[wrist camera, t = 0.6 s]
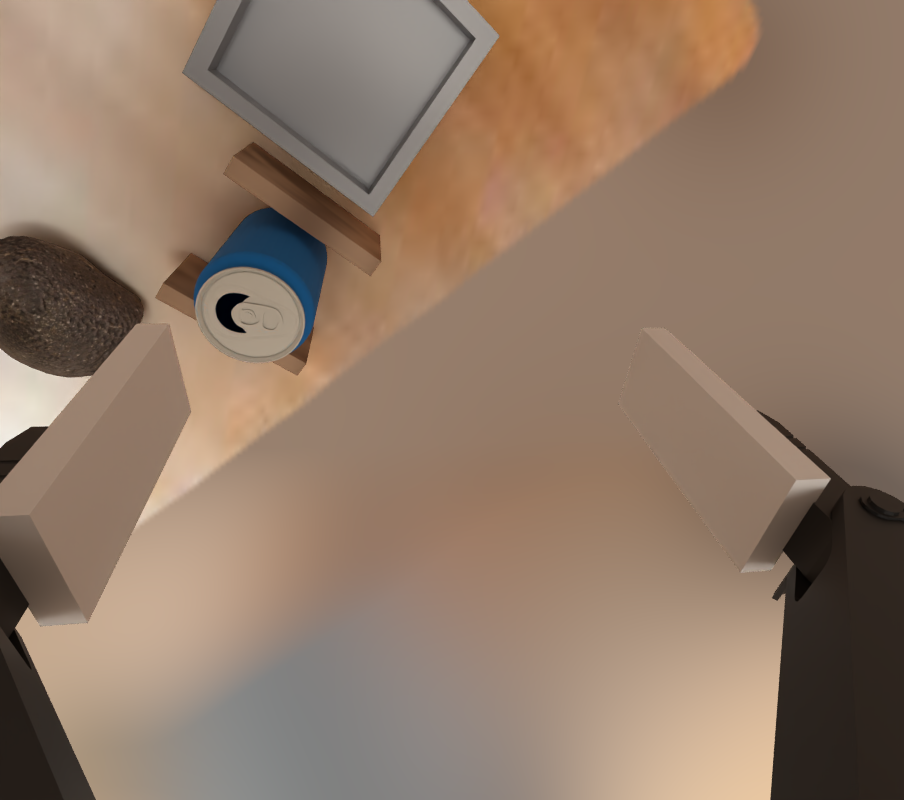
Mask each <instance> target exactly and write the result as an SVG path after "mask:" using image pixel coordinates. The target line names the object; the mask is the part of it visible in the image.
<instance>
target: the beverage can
mask: <svg viewBox="0 0 904 800" xmlns="http://www.w3.org/2000/svg"><path fill="white" fill-rule="evenodd" d="M326 265H327V252H326V247H325V244H323V243H322V242H321V241H319V240H318V239H316V238H315V237H313V236H312V235H310V234H309V233H307V232H306V231H305V230H303V229H302V228H300V227H299V226H297V225H296V224H294V223H293V222H292V221H290V220H289V219H287V218H286V217H284V216H283V215H281V214H280V213H279V212H277V211H276V210H274V209H273V208H265V209H260V210H258V211H255V212H253V213H252V214H250V215H249V216H247V217H246V218H245V219H244V220H243V221H242V222H241V223H240V225H239V226H238V227H237V228H236V230H235V231H234V232H233V233H232V235H231V236H230V237H229V238H228V240H227V241H226V242H225V243H224V245H223V246H222V247H221V248H220V249H219V251H218V252H217V253H216V254H215V256H214V257H213V258H212V259H211V261H210V262H209V263H208V264H207V266H206V267H205V268H204V269H203V271H202V272H201V274H200V275H199V277H198V279H197V281H196V284H195V288H194V297H193V298H194V307H195V314H196V319H197V322H198V325H199V327H200V329H201V331H202V333H203V334H204V336H205V337H206V339H207V340H208V341H209V342H210V343H211V344H212V345H213V346H214V347H215V348H217V349H218V350H219V351H221V352H222V353H224V354H226V355H227V356H229V357H232V358H234V359H237V360H240V361H244V362H249V363H268V362H272V361H276V360H279V359H281V358H283V357H285V356H286V355H288V354H289V353H291V352H293V351H294V350H296V349H297V348H298V347H300V346H301V345H302V344H303V343H304V341H305V340H306V339H307V338H308V336H309V334H310V333H311V330H312V328H313V324H314V320H315V315H316V311H317V306H318V302H319V297H320V292H321V288H322V283H323V278H324V274H325V269H326Z"/></svg>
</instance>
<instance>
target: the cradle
mask: <svg viewBox="0 0 904 800" xmlns="http://www.w3.org/2000/svg"><path fill="white" fill-rule="evenodd" d="M224 175H225V176H227V177H228V178H229V179H231V180H232V181H234V182H235V183H237V184H238V185H240V186H241V187H242V188H244V189H245V190H247V191H248V192H250V193H251V194H253V195H254V196H255V197H257V198H258V199H260V200H261V201H263V202H264V203H266V204H267V205H268V206H270V207H271V208H273V209H274V210H276V211H277V212H279V213H280V214H281V215H283V216H284V217H286V218H287V219H289V220H290V221H292V222H293V223H294V224H296V225H297V226H299V227H300V228H302V229H303V230H305V231H306V232H307V233H309V234H310V235H312V236H313V237H315V238H316V239H318V240H319V241H321V242H322V243H323V244H325V245H326V246H328V247H329V248H331V249H332V250H334V251H335V252H336V253H338V254H339V255H341V256H342V257H344V258H345V259H347V260H348V261H349V262H351V263H352V264H354V265H355V266H357V267H358V268H360V269H361V270H362V271H364V272H365V273H367V274H368V275H370V276H371V275H372V273H373V272H374V271H375V269H376V268H377V267H378V265H379V264H380V263H381V250H380V235H378V234H377V233H376V232H374V231H373V230H372V229H370V228H369V227H368V226H366V225H365V224H364V223H362V222H361V221H360V220H358V219H357V218H355V217H354V216H353V215H351V214H350V213H349V212H347V211H346V210H345V209H343V208H342V207H341V206H339V205H338V204H337V203H335V202H334V201H332V200H331V199H330V198H328V197H327V196H326V195H324V194H323V193H322V192H320V191H319V190H318V189H316V188H315V187H314V186H312V185H311V184H310V183H308V182H307V181H305V180H304V179H303V178H301V177H300V176H299V175H297V174H296V173H295V172H293V171H292V170H291V169H289V168H288V167H287V166H285V165H284V164H283V163H281V162H280V161H278V160H277V159H276V158H274V157H273V156H272V155H270V154H269V153H268V152H266V151H265V150H264V149H262V148H261V147H260V146H258V145H257V144H256V143H254V142H253V143H252V144H250V145H249V146H247V147H246V148H244V149H243V150H241V151H240V152H238V153H237V154H235V155H234V156H233V157H232V159H231V161H230V163H229V165H228V166H227V168H226V170H225V172H224ZM207 264H208V263H207V262H205V261H203V260H202V259H200V258H198V257H197V256H195V255H193V254H192V253H191V254H190V255H189V256H188V257H187V258H186V259H185V261H184V262H183V263H182V264H181V265H180V266H179V267H178V268H177V269H176V270H175V271H174V272H173V273H172V274H171V275H170V277H169V278H168V279H167V280H166V281H165V282H164V283H163V285H162V286H161V288H160V290H159V292H158V294H157V295H156V297H155V298H157V299H158V300H160V301H162V302H164V303H166V304H167V305H169V306H171V307H173V308H175V309H177V310H178V311H180V312H182V313H184V314H186V315H188V316H189V317H191V318H193V319H195V320H197V319H196V314H195V307H194V298H193V297H194V288H195V284H196V281H197V279H198V277H199V275H200V274H201V272H202V271H203V269H204V268H205V267H206V266H207ZM313 329H314V327H313V328H312V330H311V333H310V334H309V336H308V338H307V339H306V340H305V341H304V343H303V344H302V345H301V346H300V347H298V348H297V349H296V350H294V351H293V352H291V353H289V354H288V355H286V356H285V357H283V358H281V359H279V360H276V361H272V362H273V363H275V364H277V365H279V366H281V367H283V368H284V369H286V370H288V371H290V372H292V373H294V374H295V375H298V374H299V373H300V371H301V370H302V369H303V367H304V366H305V365H306V362H307V357H308V353H309V348H310V343H311V339H312V334H313Z"/></svg>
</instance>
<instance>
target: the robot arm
mask: <svg viewBox="0 0 904 800" xmlns="http://www.w3.org/2000/svg"><path fill="white" fill-rule="evenodd" d="M618 405H619V406H620V407H621V409H622V410H623V412H624V413H625V414H626V416H627V417H628V419H629V420H630V421H631V423H632V424H633V425H634V427H635V428H636V430H637V431H638V432H639V434H640V435H641V437H642V438H643V439H644V441H645V442H646V443H647V445H648V446H649V447H650V449H651V450H652V452H653V453H654V455H655V456H656V457H657V458H658V460H659V461H660V463H661V464H662V466H663V467H664V468H665V470H666V471H667V472H668V474H669V475H670V477H671V478H672V479H673V481H674V482H675V483H676V485H677V486H678V488H679V489H680V490H681V492H682V493H683V494H684V496H685V497H686V498H687V500H688V501H689V503H690V504H691V505H692V507H693V508H694V510H695V511H696V512H697V514H698V515H699V516H700V518H701V519H702V521H703V522H704V523H705V525H706V526H707V528H708V529H709V530H710V531H711V533H712V534H713V536H714V537H715V539H716V540H717V541H718V543H719V544H720V545H721V547H722V548H723V550H724V551H725V552H726V554H727V555H728V556H729V558H730V559H731V561H732V562H733V563H734V565H735V566H736V568H737V569H738V570H739V572H742V573H743V572H754V571H769V570H771V569H772V568H773V566H774V565H775V563H776V562H777V560H778V559H779V557H780V556H781V554H782V552H783V551H784V552H785V554H786V555H787V556H788V557H789V558H790V560H791V561H792V562H793V563H794V565H793V566H792V568H791V569H790V571H789V572H788V574H787V575H786V576H785V578H784V579H783V581H782V582H781V584H780V585H779V587H778V588H777V590H776V591H775V593H774V595H773V597H772V598H773V599H775V600H778V599H779V598H780V596H781V595H782V594H785V593H786V595H785V596H786V597H785V610H784V623H783V636H782V650H781V663H780V677H779V691H778V704H777V705H778V706H777V718H776V731H775V745H774V758H773V772H772V787H771V800H904V503H903V502H901V501H900V500H898V499H897V498H895V497H893V496H891V495H889V494H887V493H884V492H882V491H880V490H877V489H873V488H869V487H866V486H850V485H849V484H847V483H846V482H845V481H844V480H843V479H842V478H841V477H840V476H838V475H837V474H836V473H835V472H834V471H833V470H832V469H831V468H829V467H828V466H827V465H826V464H825V463H824V462H823V461H822V460H820V459H819V458H818V457H817V456H816V455H815V454H814V453H813V452H811V451H810V450H808V449H806V446H804V444H802V443H801V442H800V441H799V440H798V439H797V438H793V435H792V434H791V433H790V432H789V431H788V430H786V429H785V428H784V427H783V426H782V425H781V424H780V423H779V422H777V421H775V420H774V419H772V418H770V417H768V416H767V415H765V414H763V413H761V412H759V411H756V410H755V409H754V408H753V407H752V406H751V405H749V404H748V403H747V402H746V401H745V400H744V399H743V398H742V397H740V395H738V394H737V393H736V392H735V391H734V390H733V389H732V388H731V387H729V386H728V385H727V384H726V383H725V382H724V381H723V380H722V379H721V378H720V377H719V376H717V375H716V374H715V373H714V372H713V371H712V370H711V369H710V368H708V366H706V365H705V364H704V363H703V362H702V361H701V360H700V359H699V358H698V357H697V356H695V355H694V354H693V353H692V352H691V351H690V350H689V349H688V348H687V347H686V346H684V345H683V344H682V343H681V342H680V341H679V340H678V339H677V338H676V337H674V336H673V335H672V334H671V333H670V332H669V331H668V330H667V329H666V328H641V331H640V335H639V338H638V341H637V344H636V348H635V351H634V354H633V357H632V361H631V364H630V367H629V370H628V373H627V377H626V380H625V383H624V386H623V389H622V393H621V396H620V399H619V402H618ZM190 413H191V409H190V405H189V401H188V397H187V393H186V389H185V385H184V381H183V377H182V373H181V369H180V365H179V361H178V357H177V353H176V349H175V346H174V342H173V338H172V334H171V330H170V326H169V324H136V325H135V326H134V327H133V329H132V330H131V331H130V332H129V333H128V334H127V336H126V337H125V338H124V339H123V340H122V342H121V343H120V344H119V345H118V346H117V347H116V349H115V350H114V351H113V352H112V353H111V354H110V356H109V357H108V358H107V359H106V360H105V361H104V363H103V364H102V365H101V366H100V367H99V368H98V370H97V371H96V372H95V373H94V374H93V376H92V377H91V378H90V379H89V380H88V381H87V383H86V384H85V385H84V386H83V387H82V388H81V390H80V391H79V392H78V393H77V394H76V395H75V397H74V398H73V399H72V400H71V401H70V402H69V404H68V405H67V406H66V407H65V408H64V410H63V411H62V412H61V413H60V414H59V415H58V417H57V418H56V419H55V420H54V421H53V422H52V424H51V425H50V426H49V427H30V428H29V429H27V430H26V431H24V432H22V433H21V434H19V435H17V436H16V437H14V438H13V439H11V440H9V441H8V442H6V443H5V444H4V445H3V446H2V447H1V448H0V800H96V799H95V797H94V795H93V792H92V790H91V788H90V786H89V784H88V781H87V779H86V777H85V775H84V773H83V770H82V768H81V766H80V764H79V762H78V760H77V758H76V755H75V753H74V751H73V749H72V746H71V744H70V742H69V740H68V738H67V736H66V733H65V731H64V729H63V727H62V725H61V722H60V720H59V718H58V716H57V714H56V712H55V709H54V707H53V705H52V703H51V701H50V698H49V697H48V695H47V692H46V690H45V687H44V685H43V683H42V681H41V679H40V677H39V674H38V672H37V670H36V668H35V666H34V663H33V661H32V659H31V657H30V655H29V653H28V651H27V648H26V646H25V644H24V642H23V639H22V637H21V636H20V635H19V633H18V632H17V630H16V629H15V627H16V625H17V624H18V622H19V620H20V619H21V617H22V615H23V614H24V612H25V610H26V609H27V607H28V608H29V609H30V611H31V612H32V614H33V616H34V617H35V619H36V620H37V622H38V623H39V625H40V626H52V625H66V624H79V623H88V621H89V619H90V617H91V615H92V613H93V611H94V609H95V607H96V605H97V603H98V601H99V599H100V597H101V595H102V593H103V591H104V589H105V587H106V585H107V583H108V580H109V578H110V576H111V574H112V572H113V570H114V568H115V566H116V564H117V562H118V560H119V558H120V556H121V554H122V552H123V550H124V548H125V546H126V544H127V542H128V540H129V537H130V535H131V533H132V531H133V529H134V527H135V525H136V523H137V521H138V519H139V517H140V515H141V513H142V511H143V509H144V507H145V505H146V503H147V501H148V499H149V497H150V495H151V493H152V491H153V489H154V486H155V484H156V482H157V480H158V478H159V476H160V474H161V472H162V470H163V468H164V466H165V464H166V462H167V460H168V458H169V456H170V454H171V452H172V450H173V448H174V446H175V444H176V441H177V439H178V437H179V435H180V433H181V431H182V429H183V427H184V425H185V423H186V421H187V419H188V417H189V415H190Z"/></svg>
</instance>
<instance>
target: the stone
mask: <svg viewBox="0 0 904 800" xmlns="http://www.w3.org/2000/svg"><path fill="white" fill-rule="evenodd" d="M142 317H143V306H142V303H141V301H140V299H139V298H138V297H136V296H135V295H134V294H133V293H131V292H130V291H128V290H127V289H125V288H123V287H122V286H120V285H119V284H117V283H116V282H114V281H113V280H111V279H110V278H108V277H107V276H105V275H104V274H103V273H101V272H100V271H99V270H98V269H97V268H96V267H95V266H94V265H92V264H91V263H90V262H89V261H88V260H87V259H85V258H84V257H83V256H82V255H80V254H78V253H75V252H73V251H70V250H67V249H65V248H62V247H59V246H56V245H54V244H50V243H47V242H44V241H41V240H38V239H34V238H29V237H24V236H20V237H18V236H10V237H7V238H5V239H0V348H1V349H2V350H3V351H4V352H5V353H6V354H8V355H9V356H10V357H12V358H13V359H15V360H17V361H19V362H21V363H23V364H25V365H27V366H29V367H31V368H34V369H37V370H40V371H42V372H45V373H48V374H52V375H56V376H63V377H83V376H91V375H93V374H94V373H95V372H96V371H97V370H98V368H99V367H100V366H101V365H102V364H103V363H104V361H105V360H106V359H107V358H108V357H109V356H110V354H111V353H112V352H113V351H114V350H115V349H116V347H117V346H118V345H119V344H120V343H121V342H122V340H123V339H124V338H125V337H126V336H127V334H128V333H129V332H130V331H131V330H132V329H133V327H134V326H135V325H136V324H140V322H141V319H142Z"/></svg>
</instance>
